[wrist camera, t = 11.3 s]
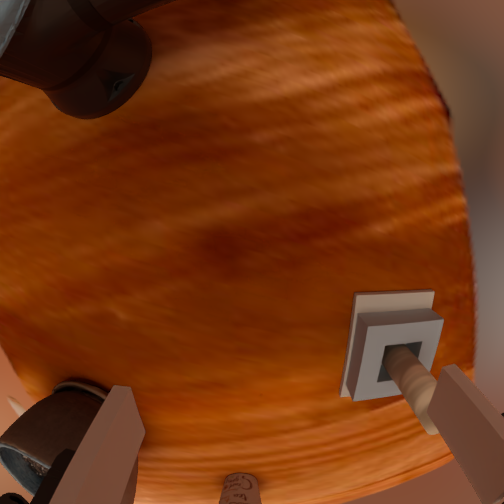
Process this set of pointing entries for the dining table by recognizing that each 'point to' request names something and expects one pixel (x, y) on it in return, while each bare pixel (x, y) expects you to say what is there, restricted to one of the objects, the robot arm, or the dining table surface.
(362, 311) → the socket
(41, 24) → the robot arm
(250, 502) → the mug
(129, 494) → the potted plant
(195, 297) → the dining table surface
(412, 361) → the peg
